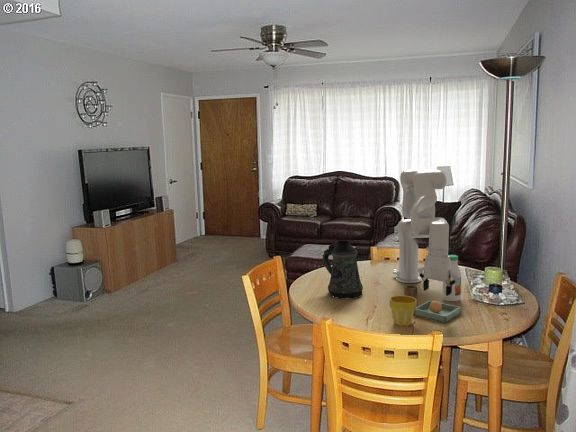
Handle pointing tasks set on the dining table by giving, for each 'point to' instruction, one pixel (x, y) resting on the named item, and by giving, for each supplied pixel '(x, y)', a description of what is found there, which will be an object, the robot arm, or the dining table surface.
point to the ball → (435, 306)
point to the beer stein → (343, 270)
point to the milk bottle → (456, 286)
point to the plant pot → (402, 309)
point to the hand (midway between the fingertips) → (437, 292)
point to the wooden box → (410, 291)
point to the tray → (443, 316)
